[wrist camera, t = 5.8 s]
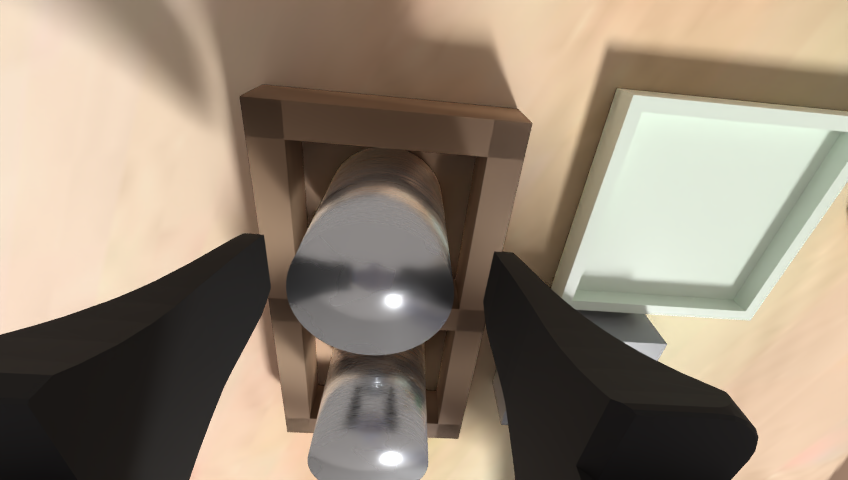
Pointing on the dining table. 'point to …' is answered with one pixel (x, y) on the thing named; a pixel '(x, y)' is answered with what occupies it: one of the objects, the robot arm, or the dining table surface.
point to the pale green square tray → (699, 203)
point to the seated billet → (372, 418)
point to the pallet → (394, 129)
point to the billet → (375, 257)
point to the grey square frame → (619, 325)
